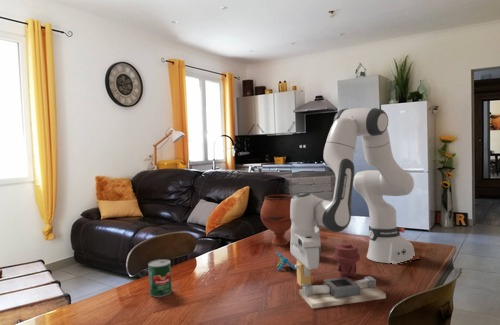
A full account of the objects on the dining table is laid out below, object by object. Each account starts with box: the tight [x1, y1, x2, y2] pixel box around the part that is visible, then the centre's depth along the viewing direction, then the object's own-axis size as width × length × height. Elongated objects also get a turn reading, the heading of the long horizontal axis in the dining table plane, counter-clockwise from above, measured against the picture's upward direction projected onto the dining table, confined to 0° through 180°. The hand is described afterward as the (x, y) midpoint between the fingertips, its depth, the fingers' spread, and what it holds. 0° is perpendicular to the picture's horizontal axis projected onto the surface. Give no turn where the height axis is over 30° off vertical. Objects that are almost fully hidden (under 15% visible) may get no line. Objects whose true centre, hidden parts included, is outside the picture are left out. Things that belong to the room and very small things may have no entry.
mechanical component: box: [333, 242, 361, 278], centre depth 142 cm, size 12×10×10 cm
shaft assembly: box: [301, 275, 377, 299], centre depth 123 cm, size 26×9×3 cm, turn 103°
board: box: [298, 287, 387, 310], centre depth 123 cm, size 26×12×2 cm, turn 103°
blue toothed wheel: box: [275, 251, 296, 272], centre depth 151 cm, size 11×6×10 cm
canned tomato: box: [147, 258, 173, 298], centre depth 131 cm, size 8×8×11 cm
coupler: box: [294, 260, 312, 287], centre depth 135 cm, size 6×4×8 cm, turn 103°
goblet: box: [260, 194, 293, 246], centre depth 191 cm, size 19×19×25 cm
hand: (303, 273), depth 135 cm, fingers closed on coupler, 4 cm apart
